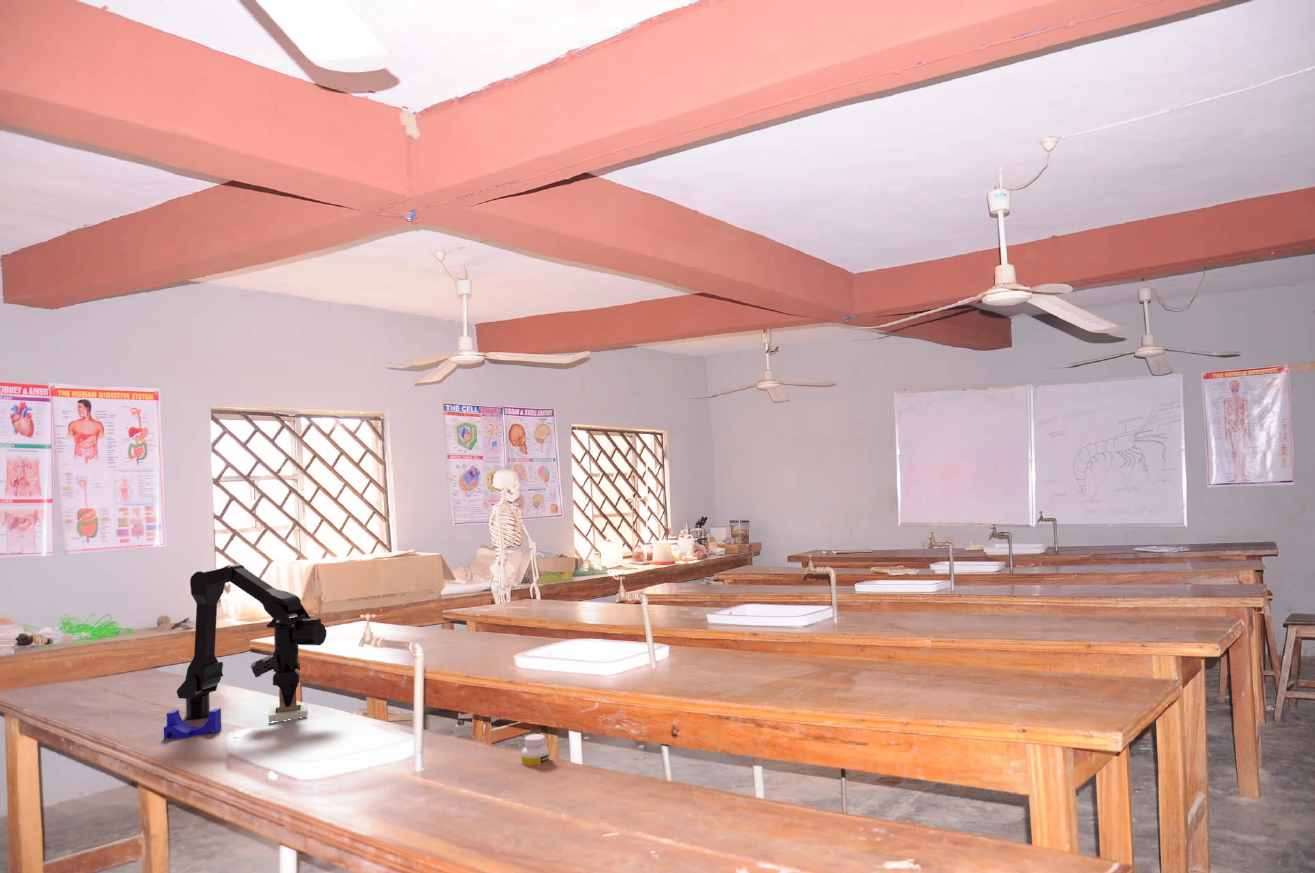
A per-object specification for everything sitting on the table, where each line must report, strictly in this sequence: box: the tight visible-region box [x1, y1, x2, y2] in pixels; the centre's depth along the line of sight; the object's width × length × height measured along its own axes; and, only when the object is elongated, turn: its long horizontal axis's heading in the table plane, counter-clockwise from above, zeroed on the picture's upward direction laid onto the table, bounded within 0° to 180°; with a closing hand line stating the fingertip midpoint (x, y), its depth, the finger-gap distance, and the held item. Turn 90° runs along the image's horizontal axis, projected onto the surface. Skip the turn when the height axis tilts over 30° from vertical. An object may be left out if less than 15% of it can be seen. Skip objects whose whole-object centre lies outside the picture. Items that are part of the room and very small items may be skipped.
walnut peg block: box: [278, 688, 298, 713], centre depth 236 cm, size 4×4×7 cm
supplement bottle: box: [521, 733, 550, 767], centre depth 181 cm, size 5×5×10 cm
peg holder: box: [268, 702, 308, 723], centre depth 235 cm, size 9×9×3 cm
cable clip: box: [163, 707, 222, 740], centre depth 226 cm, size 12×4×6 cm, turn 91°
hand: (287, 704), depth 236 cm, fingers closed on walnut peg block, 4 cm apart
